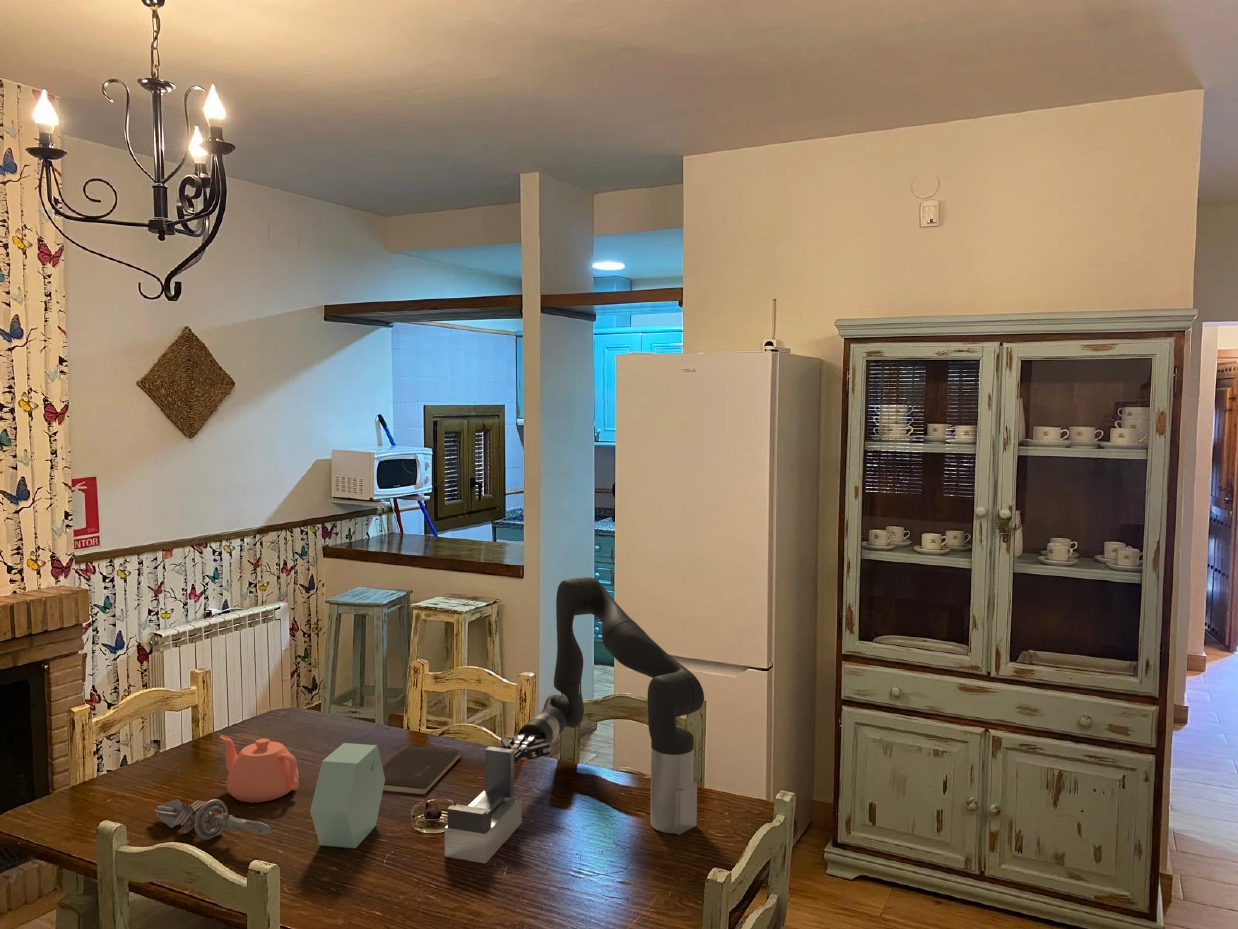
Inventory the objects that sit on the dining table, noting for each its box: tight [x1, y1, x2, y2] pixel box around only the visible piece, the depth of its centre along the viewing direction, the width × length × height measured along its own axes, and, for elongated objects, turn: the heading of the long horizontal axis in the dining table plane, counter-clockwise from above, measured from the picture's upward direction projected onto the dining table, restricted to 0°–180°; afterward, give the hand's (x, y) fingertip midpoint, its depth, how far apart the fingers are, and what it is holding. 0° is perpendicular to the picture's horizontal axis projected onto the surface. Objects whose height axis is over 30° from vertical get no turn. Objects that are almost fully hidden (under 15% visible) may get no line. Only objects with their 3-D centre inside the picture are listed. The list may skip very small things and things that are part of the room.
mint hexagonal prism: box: [309, 742, 385, 849], centre depth 188 cm, size 17×8×21 cm
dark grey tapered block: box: [473, 746, 515, 811], centre depth 189 cm, size 11×6×10 cm, turn 163°
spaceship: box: [154, 798, 273, 841], centre depth 186 cm, size 8×35×8 cm
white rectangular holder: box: [444, 790, 523, 864], centre depth 187 cm, size 18×9×10 cm, turn 163°
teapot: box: [219, 734, 300, 804], centre depth 209 cm, size 22×16×12 cm
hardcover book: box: [382, 745, 463, 795], centre depth 221 cm, size 16×23×2 cm
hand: (509, 760), depth 198 cm, fingers closed
